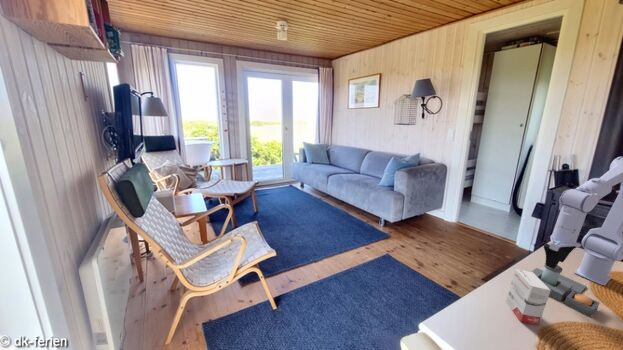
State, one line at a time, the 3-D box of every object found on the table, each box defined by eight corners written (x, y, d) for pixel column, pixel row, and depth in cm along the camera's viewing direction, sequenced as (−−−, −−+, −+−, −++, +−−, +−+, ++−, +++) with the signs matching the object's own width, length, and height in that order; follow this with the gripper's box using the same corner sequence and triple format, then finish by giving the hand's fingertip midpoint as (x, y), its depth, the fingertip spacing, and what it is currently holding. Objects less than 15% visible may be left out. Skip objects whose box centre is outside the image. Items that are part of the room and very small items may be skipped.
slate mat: (559, 275, 95) (560, 274, 95) (586, 287, 89) (586, 286, 89) (552, 281, 91) (552, 280, 91) (579, 294, 86) (579, 293, 86)
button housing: (570, 296, 84) (573, 290, 84) (596, 309, 79) (599, 302, 79) (564, 303, 81) (566, 296, 80) (590, 316, 76) (593, 310, 76)
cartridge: (541, 280, 92) (547, 261, 89) (557, 288, 88) (564, 268, 86) (535, 284, 89) (542, 264, 87) (552, 292, 86) (559, 272, 83)
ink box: (539, 326, 72) (552, 290, 69) (520, 322, 73) (532, 287, 70) (522, 303, 80) (533, 270, 77) (504, 300, 81) (514, 268, 78)
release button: (574, 298, 83) (577, 292, 82) (591, 306, 80) (594, 300, 79) (570, 302, 81) (573, 296, 80) (587, 311, 78) (590, 304, 77)
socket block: (534, 273, 95) (536, 267, 95) (570, 290, 87) (573, 284, 86) (522, 282, 90) (524, 276, 89) (559, 301, 82) (562, 294, 81)
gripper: (577, 237, 75) (562, 277, 79) (592, 227, 83) (578, 264, 87) (546, 227, 81) (534, 264, 85) (563, 218, 89) (551, 253, 92)
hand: (554, 263), depth 86 cm, fingers open, 7 cm apart
